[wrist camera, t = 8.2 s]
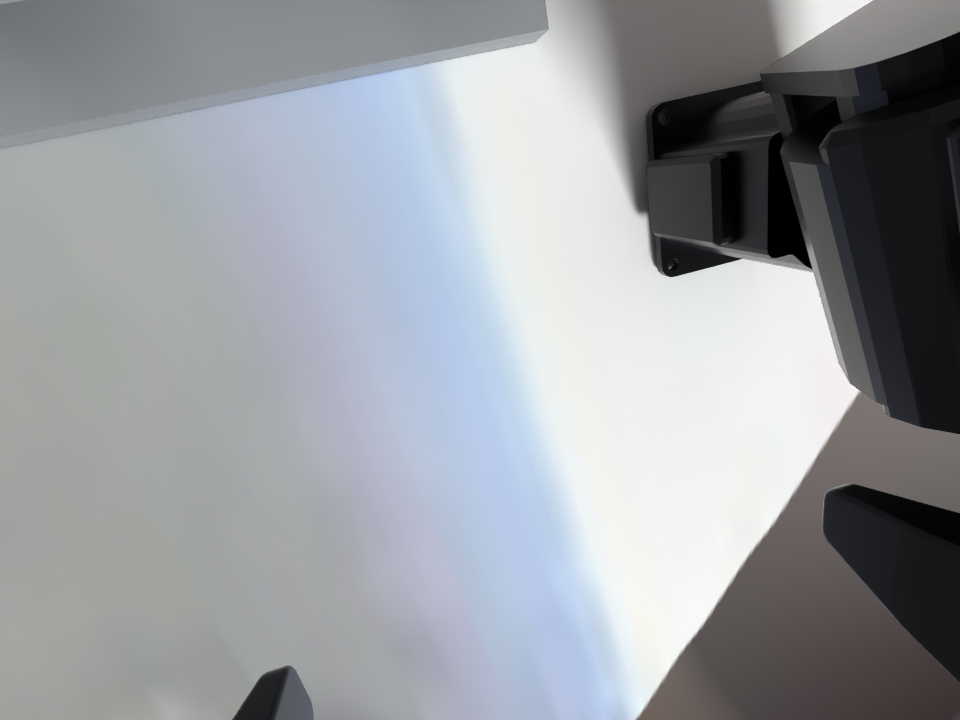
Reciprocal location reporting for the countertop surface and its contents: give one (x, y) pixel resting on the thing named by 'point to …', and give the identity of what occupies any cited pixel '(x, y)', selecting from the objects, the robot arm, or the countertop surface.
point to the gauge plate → (220, 52)
